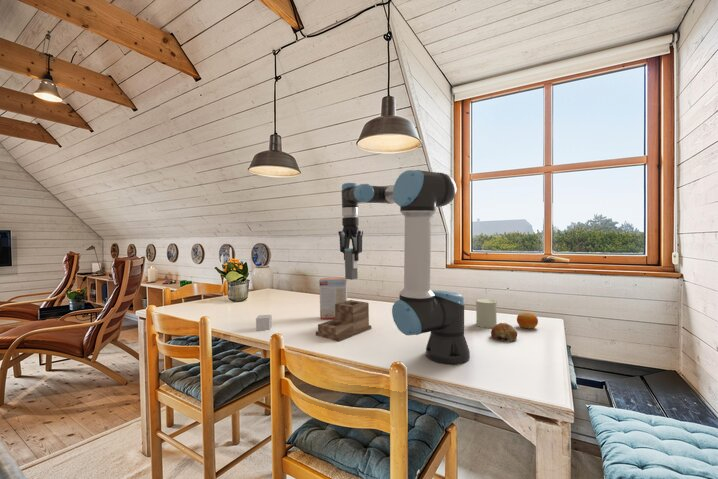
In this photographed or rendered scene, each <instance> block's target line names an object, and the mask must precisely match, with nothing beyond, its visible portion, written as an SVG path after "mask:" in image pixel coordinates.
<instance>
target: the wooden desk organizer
mask: <svg viewBox="0 0 718 479" xmlns="http://www.w3.org/2000/svg"><path fill="white" fill-rule="evenodd" d="M369 309H370V308H369V302H365V301H360V300H353V299H350V300H347V301H345V302H341V303H337V304H335V319H330V320H328V321H325V322H322V323H318V324H317V331H315V336H317V337H321V338H324V339H327V340H332V341H335V342H342V341H344V340H347V339H349V338H352V337H355V336H357V335H359V334H362V333H365V332H367V331H369V330H372V329H373V328H372V325H370V316H369V315H370V313H369V311H370V310H369Z"/></svg>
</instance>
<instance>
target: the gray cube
mask: <svg viewBox="0 0 718 479" xmlns="http://www.w3.org/2000/svg"><path fill="white" fill-rule="evenodd" d="M272 317H273V316H272V314H259V315H257V317H256V318H255V327H256V328H255V331H256V332H266V331H265V330H269V331H271V329H272V327H273V323H272V321H273V320H272Z"/></svg>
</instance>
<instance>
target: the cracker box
mask: <svg viewBox="0 0 718 479" xmlns="http://www.w3.org/2000/svg"><path fill="white" fill-rule="evenodd" d="M347 281H348V279H345V277H322V278H320V279H319V282H318V283H319V312H320V313H319V316H320V320H334V319H335V304H337V303H341V302H345V301H348V286H347V284H348V282H347Z"/></svg>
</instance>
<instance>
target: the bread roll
mask: <svg viewBox="0 0 718 479" xmlns="http://www.w3.org/2000/svg"><path fill="white" fill-rule="evenodd" d="M490 334H491V335H490V336H491V337H492V339H494V340H496V341H499V342H514V341H515V340H517V337H518V332H517V330H516V328H515V327H514V326H513V325H511V324H510V323H507V322H500V323H497V325H495V326H494V327H493V328H491V332H490Z"/></svg>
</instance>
